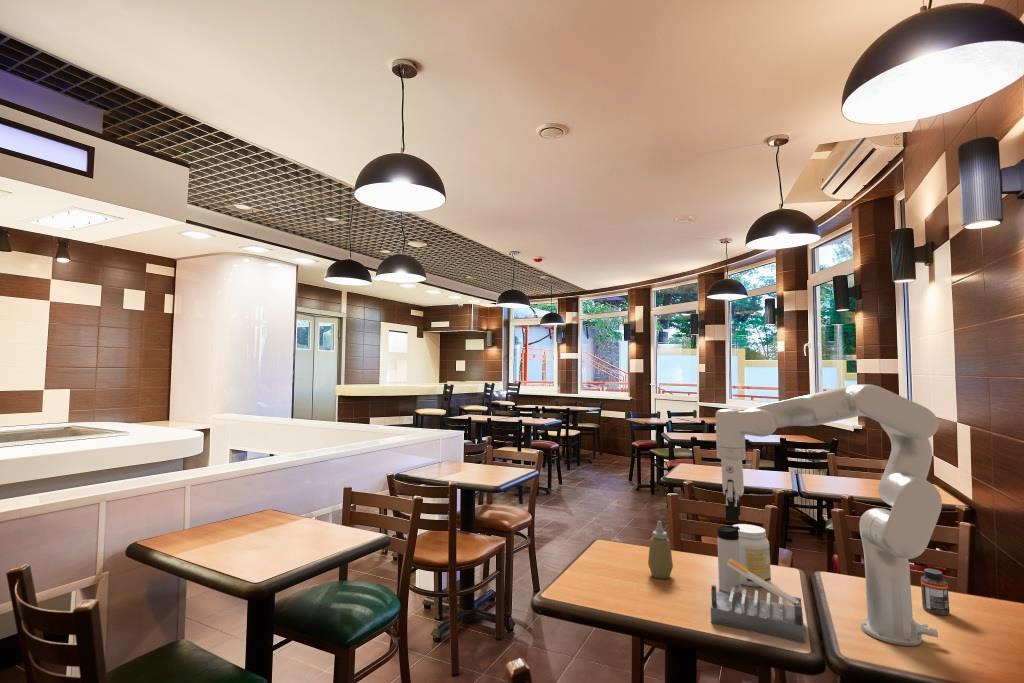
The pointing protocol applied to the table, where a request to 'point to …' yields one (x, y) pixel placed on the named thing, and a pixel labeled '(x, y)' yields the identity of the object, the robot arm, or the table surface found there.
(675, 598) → the table surface
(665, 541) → the squeeze bottle
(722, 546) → the travel mug
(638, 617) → the table surface
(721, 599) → the heatsink block
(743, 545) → the supplement tub
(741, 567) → the white orange stick
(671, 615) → the table surface
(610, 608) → the table surface
